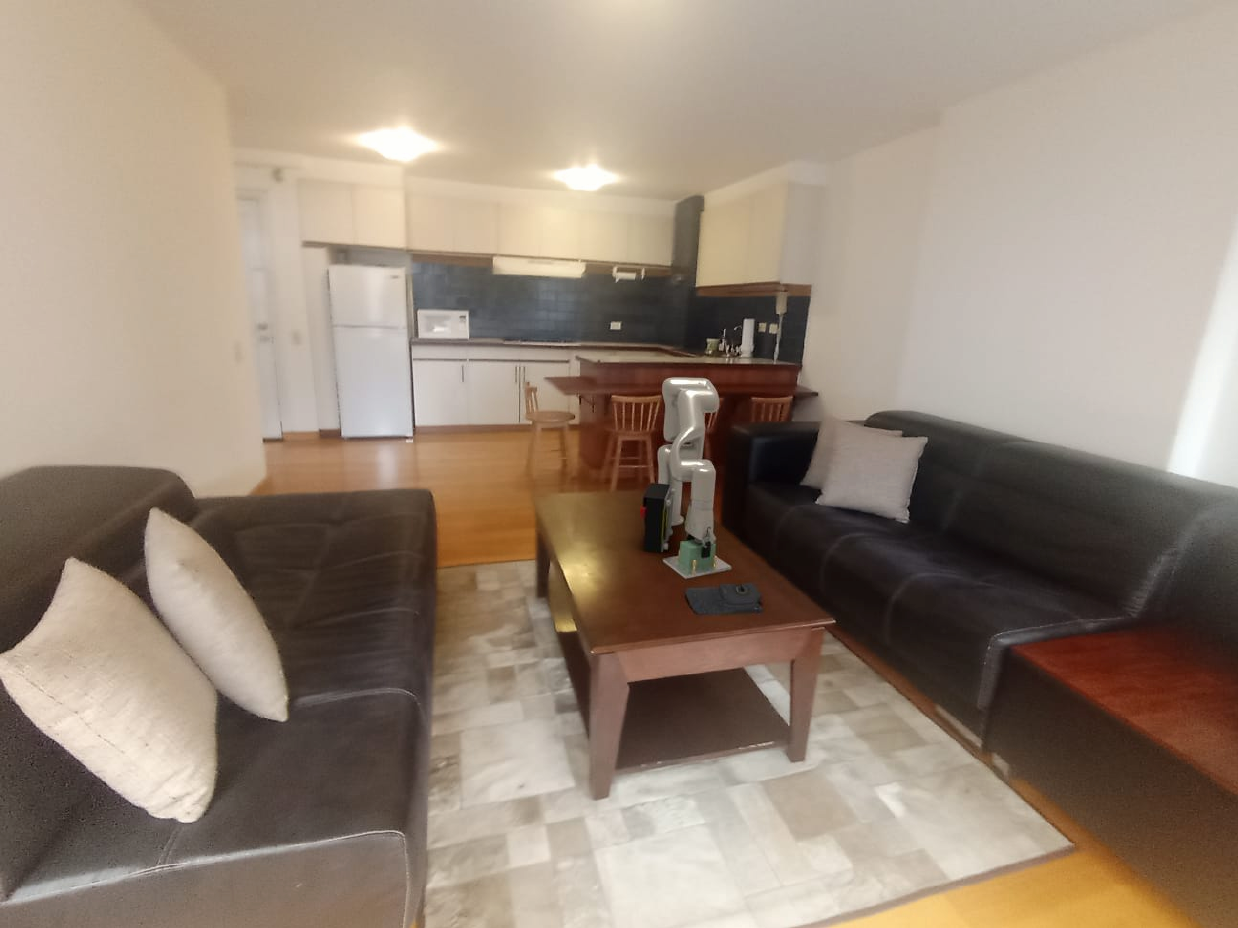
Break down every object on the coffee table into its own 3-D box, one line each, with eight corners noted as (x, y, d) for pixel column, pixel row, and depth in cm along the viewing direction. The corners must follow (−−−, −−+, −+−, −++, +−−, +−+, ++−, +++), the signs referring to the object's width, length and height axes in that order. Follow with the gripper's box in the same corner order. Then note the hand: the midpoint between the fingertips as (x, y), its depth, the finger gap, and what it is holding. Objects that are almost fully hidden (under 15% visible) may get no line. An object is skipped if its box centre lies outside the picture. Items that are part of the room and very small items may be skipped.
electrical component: (667, 553, 202) (670, 499, 197) (638, 550, 204) (641, 496, 199) (672, 535, 219) (675, 485, 214) (646, 532, 221) (648, 482, 216)
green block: (679, 561, 194) (680, 540, 192) (704, 556, 199) (705, 536, 197) (688, 568, 189) (690, 546, 187) (714, 563, 193) (715, 542, 191)
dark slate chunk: (680, 591, 176) (681, 577, 175) (748, 589, 180) (750, 575, 179) (694, 617, 162) (695, 602, 161) (768, 614, 165) (770, 599, 164)
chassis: (663, 561, 196) (663, 549, 195) (706, 553, 204) (707, 541, 203) (685, 578, 184) (686, 565, 183) (731, 569, 192) (732, 556, 191)
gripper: (677, 496, 194) (674, 544, 199) (707, 513, 179) (703, 564, 184) (696, 493, 197) (692, 541, 202) (727, 510, 182) (722, 560, 187)
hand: (697, 552), depth 193 cm, fingers open, 8 cm apart
